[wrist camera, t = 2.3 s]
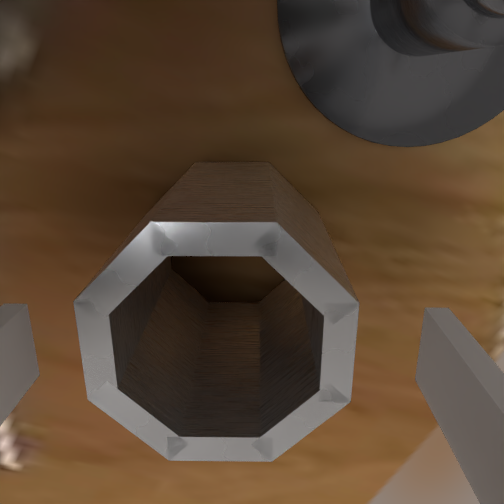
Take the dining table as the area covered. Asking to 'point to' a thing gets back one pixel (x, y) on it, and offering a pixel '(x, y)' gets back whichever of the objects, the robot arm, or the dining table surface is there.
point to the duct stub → (398, 65)
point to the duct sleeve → (221, 322)
